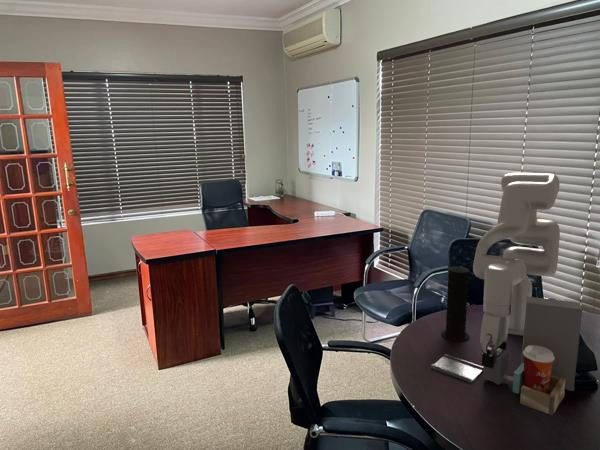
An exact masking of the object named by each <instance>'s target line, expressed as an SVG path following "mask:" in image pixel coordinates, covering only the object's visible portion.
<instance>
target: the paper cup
mask: <svg viewBox="0 0 600 450" xmlns="http://www.w3.org/2000/svg"><path fill="white" fill-rule="evenodd" d="M523 354H524V386H526V387H529V388H531V389H534V390H537V391H540V392H543V393H546V394H548V393H549V392H548V387H549V381H550V375H551V369H552V364H553V361H554V359H555V357H554V356H553V352H552V351H551V350H549V349H547V348H545V347H542V346H536V345H530V346H527V347H526V348H525V350H524V351H523Z"/></svg>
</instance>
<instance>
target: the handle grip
mask: <svg viewBox="0 0 600 450" xmlns="http://www.w3.org/2000/svg"><path fill="white" fill-rule="evenodd" d="M447 270H448V275H447V277H448V279H447V295H446V298H447V300H446V315H445V316H446V319H445V329H444V330H442V332H441V333H440V335H441V337H442V338H443V339H445V340H446V341H450V342H453V343H455V342H456V343H464V342H467V341H469V340H470V339H471V336H470V335H469V333H467V332H466V329H467V327H466V325H467V316H468V315H467V313H468V312H467V309H468V291H469V289H468V288H469V284H468V283H469V271H470V270H469V269H468V268H466V267H463V266H449V267H448V269H447Z"/></svg>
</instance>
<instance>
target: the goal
mask: <svg viewBox="0 0 600 450" xmlns="http://www.w3.org/2000/svg"><path fill="white" fill-rule="evenodd" d="M565 386H566V377H565V376H562V377H561V378H559V377H556V376H553V375H550V381H549V387H548V392H547V394H546V393H543V392H540V391H537V390H534V389H531V388H529V387H526V386H522V387H521V392H520V401H519V404H520V405H524V406H525V407H528V408H530V409H534V410H536V411H539V412H542V413H545V414H547V415H550V416H553V415H554V414H555V412H556V410H557V409H558V408H559V405H560V404H561V403H562V400H563V399H564V398H565V392H566V389H565ZM549 393H550V394H549Z"/></svg>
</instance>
